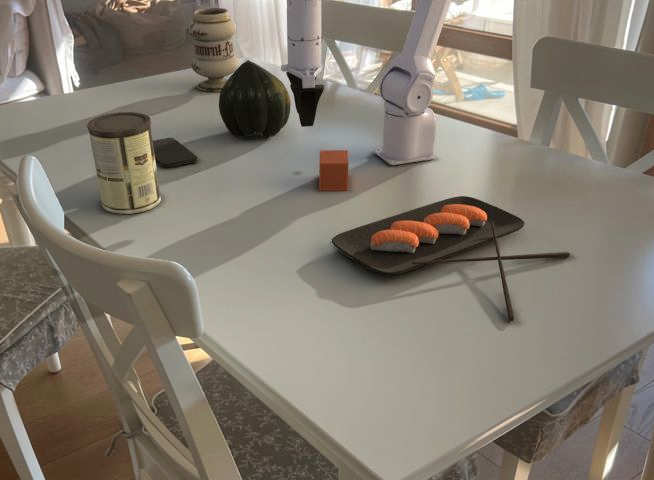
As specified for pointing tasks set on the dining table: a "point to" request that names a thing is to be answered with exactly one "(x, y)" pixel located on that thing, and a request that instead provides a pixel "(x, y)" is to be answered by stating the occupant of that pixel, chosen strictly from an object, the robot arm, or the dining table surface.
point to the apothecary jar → (213, 47)
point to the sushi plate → (433, 237)
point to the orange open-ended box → (333, 170)
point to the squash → (254, 102)
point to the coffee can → (125, 162)
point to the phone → (172, 153)
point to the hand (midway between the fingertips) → (304, 119)
